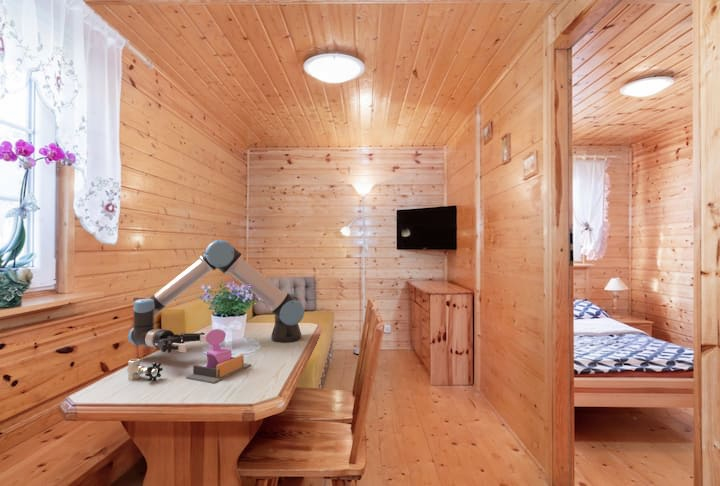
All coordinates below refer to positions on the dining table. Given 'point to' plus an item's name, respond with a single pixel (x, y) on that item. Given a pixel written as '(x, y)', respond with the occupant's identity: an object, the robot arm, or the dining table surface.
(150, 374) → the valve
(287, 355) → the dining table surface
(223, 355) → the toy chair
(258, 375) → the dining table surface
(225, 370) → the grey and orange tray
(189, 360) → the dining table surface
